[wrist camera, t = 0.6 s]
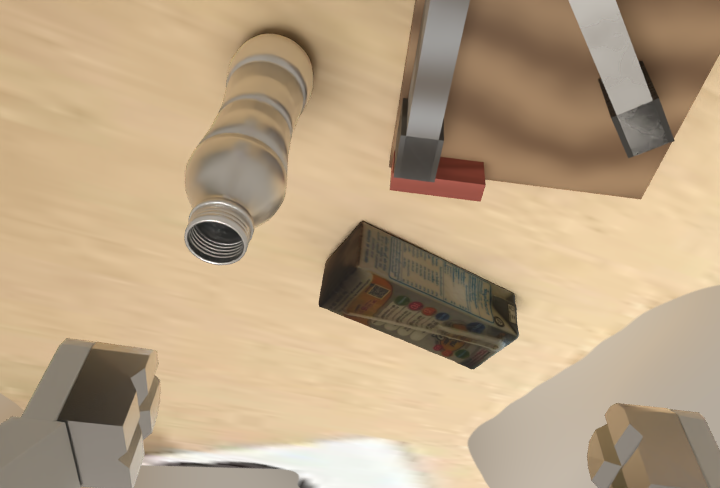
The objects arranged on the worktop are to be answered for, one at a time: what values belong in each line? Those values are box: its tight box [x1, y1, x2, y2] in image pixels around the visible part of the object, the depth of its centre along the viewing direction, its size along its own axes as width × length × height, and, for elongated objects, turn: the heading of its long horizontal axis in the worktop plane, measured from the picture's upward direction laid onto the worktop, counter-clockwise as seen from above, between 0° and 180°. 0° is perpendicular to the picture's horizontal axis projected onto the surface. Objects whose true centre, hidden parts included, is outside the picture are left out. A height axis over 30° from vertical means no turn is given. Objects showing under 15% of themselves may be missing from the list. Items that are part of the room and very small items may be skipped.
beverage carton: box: [319, 222, 519, 369], centre depth 65 cm, size 8×19×7 cm, turn 60°
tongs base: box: [389, 0, 720, 201], centre depth 45 cm, size 25×22×8 cm
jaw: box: [569, 0, 674, 158], centre depth 43 cm, size 18×3×5 cm, turn 32°
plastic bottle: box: [185, 34, 313, 265], centre depth 44 cm, size 6×7×20 cm
